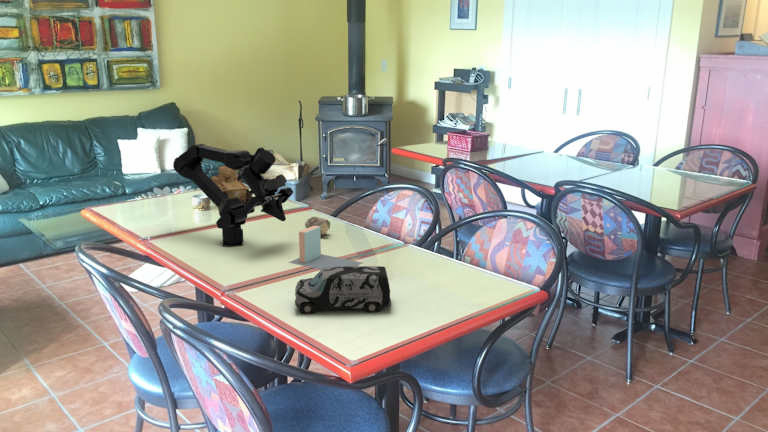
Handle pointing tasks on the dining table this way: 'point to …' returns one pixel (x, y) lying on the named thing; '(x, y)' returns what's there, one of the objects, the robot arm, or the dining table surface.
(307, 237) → the block
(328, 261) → the mat
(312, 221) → the rock
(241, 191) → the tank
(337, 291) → the toy car
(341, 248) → the dining table surface
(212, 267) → the dining table surface
